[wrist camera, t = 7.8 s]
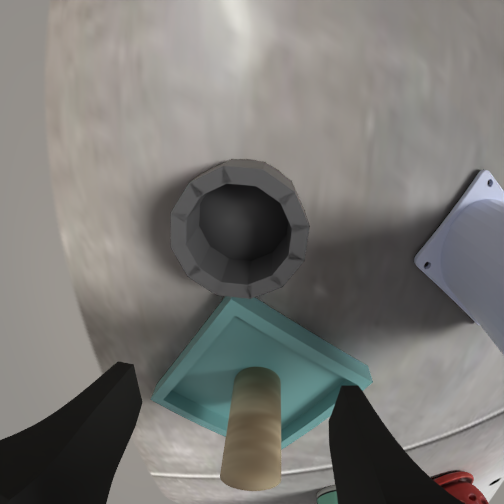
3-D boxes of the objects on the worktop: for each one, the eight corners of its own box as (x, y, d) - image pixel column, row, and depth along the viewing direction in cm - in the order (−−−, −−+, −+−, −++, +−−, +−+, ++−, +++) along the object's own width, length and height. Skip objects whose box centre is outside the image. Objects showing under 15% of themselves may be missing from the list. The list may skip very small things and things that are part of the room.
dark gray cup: (325, 204, 18) (336, 222, 15) (258, 287, 20) (254, 318, 17) (228, 135, 17) (217, 138, 14) (168, 229, 19) (148, 250, 16)
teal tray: (367, 366, 22) (372, 382, 21) (272, 440, 26) (272, 455, 25) (234, 284, 20) (231, 299, 19) (156, 384, 24) (150, 399, 23)
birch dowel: (288, 375, 22) (291, 473, 15) (269, 402, 24) (266, 494, 16) (244, 360, 22) (231, 460, 14) (227, 390, 23) (212, 483, 16)
